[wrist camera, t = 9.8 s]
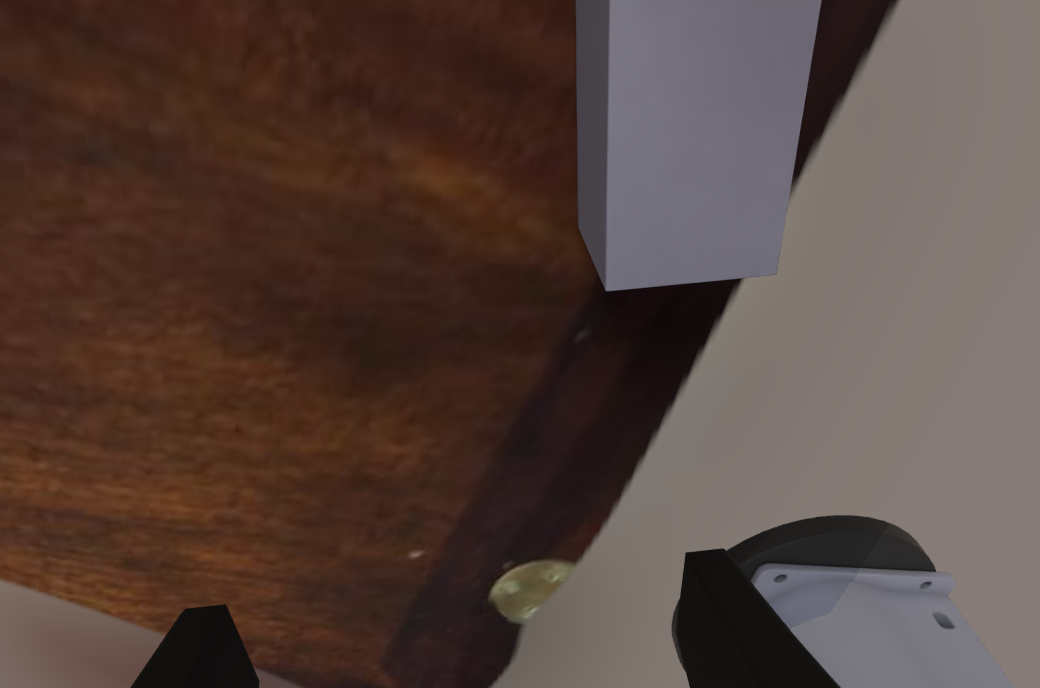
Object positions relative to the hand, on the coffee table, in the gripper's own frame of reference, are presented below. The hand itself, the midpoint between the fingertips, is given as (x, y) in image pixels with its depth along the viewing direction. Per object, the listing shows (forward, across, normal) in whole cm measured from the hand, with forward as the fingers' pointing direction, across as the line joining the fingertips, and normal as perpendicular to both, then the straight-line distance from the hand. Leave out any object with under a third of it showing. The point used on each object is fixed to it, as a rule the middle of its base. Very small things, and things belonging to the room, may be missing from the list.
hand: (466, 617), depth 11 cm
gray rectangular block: (+9, -5, -6) cm, 13 cm away
